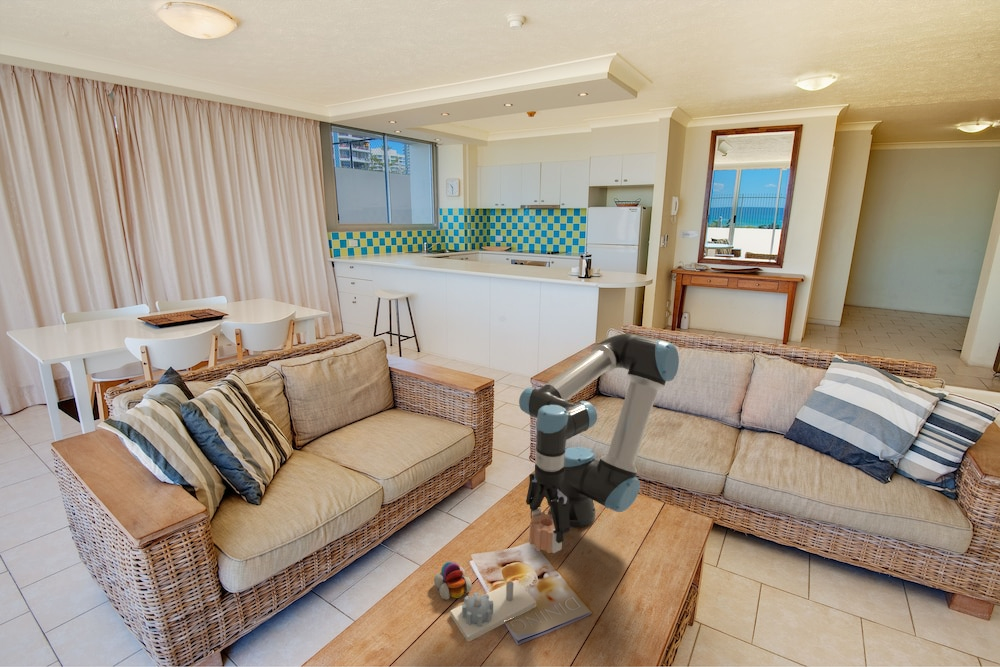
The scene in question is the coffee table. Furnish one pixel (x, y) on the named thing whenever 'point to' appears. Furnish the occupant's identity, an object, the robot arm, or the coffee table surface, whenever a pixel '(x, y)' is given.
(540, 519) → the gear
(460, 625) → the gear board
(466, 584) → the white-domed colorful disc toy
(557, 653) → the coffee table surface
